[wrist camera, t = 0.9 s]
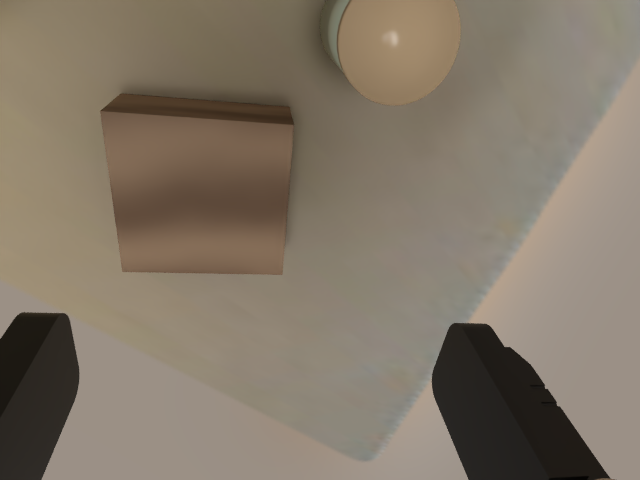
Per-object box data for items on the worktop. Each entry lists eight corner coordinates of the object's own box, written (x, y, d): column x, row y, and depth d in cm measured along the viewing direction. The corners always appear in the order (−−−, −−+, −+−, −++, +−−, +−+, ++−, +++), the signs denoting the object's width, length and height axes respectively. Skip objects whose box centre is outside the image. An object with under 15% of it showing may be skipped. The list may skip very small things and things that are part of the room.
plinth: (120, 93, 26) (100, 111, 23) (289, 106, 28) (293, 125, 24) (137, 239, 31) (122, 271, 28) (279, 243, 33) (282, 274, 29)
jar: (323, -34, 24) (348, -39, 18) (417, -22, 25) (475, -22, 18) (313, 70, 27) (332, 100, 20) (398, 78, 28) (443, 109, 21)
